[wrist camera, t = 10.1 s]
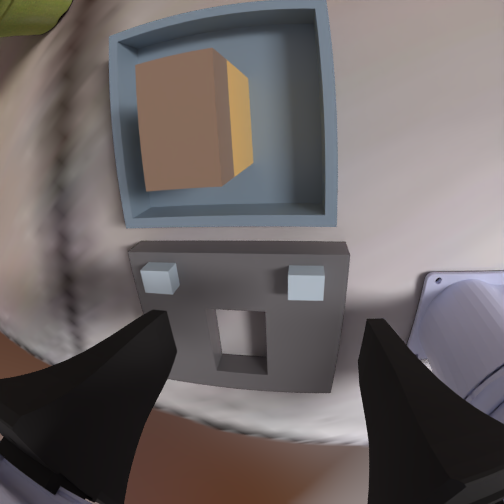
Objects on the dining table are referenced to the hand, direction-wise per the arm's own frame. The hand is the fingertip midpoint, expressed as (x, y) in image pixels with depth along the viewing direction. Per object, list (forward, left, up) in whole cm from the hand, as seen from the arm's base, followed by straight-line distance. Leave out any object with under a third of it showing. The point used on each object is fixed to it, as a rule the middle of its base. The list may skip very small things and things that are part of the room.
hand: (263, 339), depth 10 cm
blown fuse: (+3, -8, -9) cm, 12 cm away
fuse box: (+3, +6, -9) cm, 12 cm away
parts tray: (+3, -8, -9) cm, 13 cm away
